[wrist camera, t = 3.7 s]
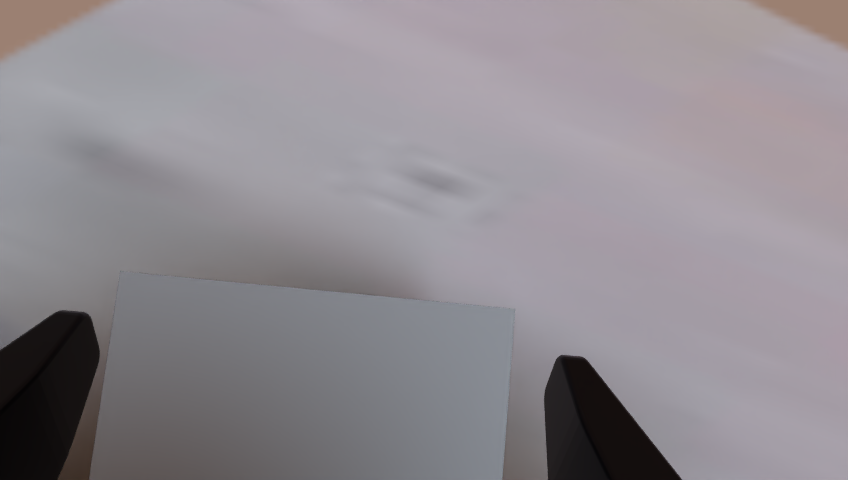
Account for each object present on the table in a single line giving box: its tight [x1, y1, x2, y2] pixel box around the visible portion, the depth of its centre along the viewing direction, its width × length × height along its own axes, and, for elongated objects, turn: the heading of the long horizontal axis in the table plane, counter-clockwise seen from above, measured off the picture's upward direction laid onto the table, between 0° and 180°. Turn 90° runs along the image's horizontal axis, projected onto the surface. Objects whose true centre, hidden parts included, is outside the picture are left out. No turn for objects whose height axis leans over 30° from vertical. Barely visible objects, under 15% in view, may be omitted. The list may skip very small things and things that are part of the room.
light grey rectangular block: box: [89, 271, 515, 480], centre depth 12 cm, size 4×4×10 cm
